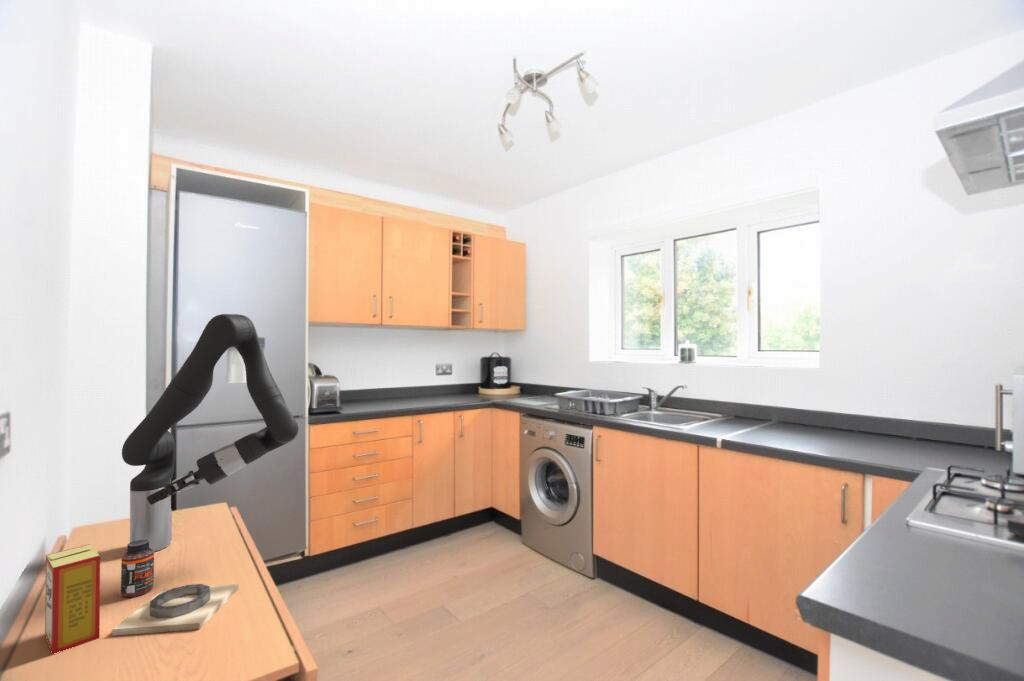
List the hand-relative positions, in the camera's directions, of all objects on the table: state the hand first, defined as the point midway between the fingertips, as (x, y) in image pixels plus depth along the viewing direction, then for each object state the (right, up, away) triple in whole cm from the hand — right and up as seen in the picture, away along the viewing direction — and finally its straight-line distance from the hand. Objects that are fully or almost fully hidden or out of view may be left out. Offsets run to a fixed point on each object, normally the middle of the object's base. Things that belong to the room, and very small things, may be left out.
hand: (153, 499), depth 116 cm
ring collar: (+18, -17, -16) cm, 30 cm away
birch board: (+18, -18, -16) cm, 31 cm away
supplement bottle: (+2, -19, -8) cm, 21 cm away
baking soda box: (+3, -18, -25) cm, 31 cm away
